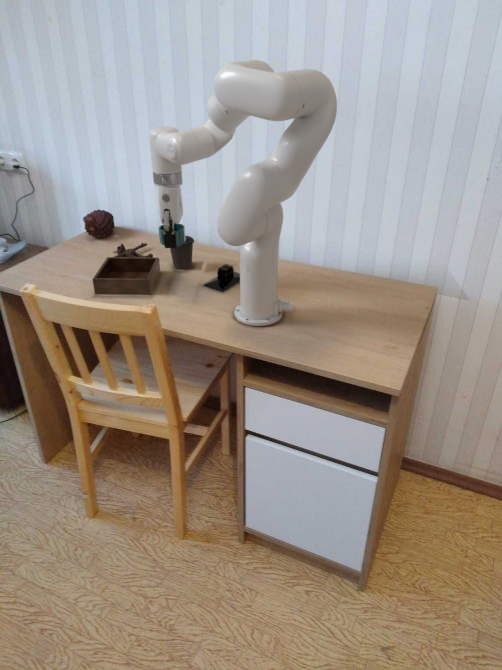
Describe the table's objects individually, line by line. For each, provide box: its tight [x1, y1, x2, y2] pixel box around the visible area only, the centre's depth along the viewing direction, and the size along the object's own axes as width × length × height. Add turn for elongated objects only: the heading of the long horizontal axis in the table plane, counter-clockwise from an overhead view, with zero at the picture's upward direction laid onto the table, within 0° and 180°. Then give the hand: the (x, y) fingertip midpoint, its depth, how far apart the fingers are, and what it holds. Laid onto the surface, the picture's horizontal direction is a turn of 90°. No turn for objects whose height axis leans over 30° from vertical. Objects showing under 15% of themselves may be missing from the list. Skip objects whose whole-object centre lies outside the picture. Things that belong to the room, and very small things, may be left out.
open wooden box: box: [92, 256, 161, 296], centre depth 154 cm, size 16×16×5 cm
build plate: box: [203, 263, 240, 293], centre depth 156 cm, size 12×7×5 cm, turn 145°
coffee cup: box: [169, 235, 195, 271], centre depth 163 cm, size 8×8×10 cm
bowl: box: [158, 223, 186, 247], centre depth 147 cm, size 7×7×5 cm
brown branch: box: [112, 242, 154, 258], centre depth 171 cm, size 18×4×14 cm
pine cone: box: [82, 209, 116, 239], centre depth 188 cm, size 18×10×10 cm
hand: (172, 241), depth 148 cm, fingers closed on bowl, 7 cm apart
